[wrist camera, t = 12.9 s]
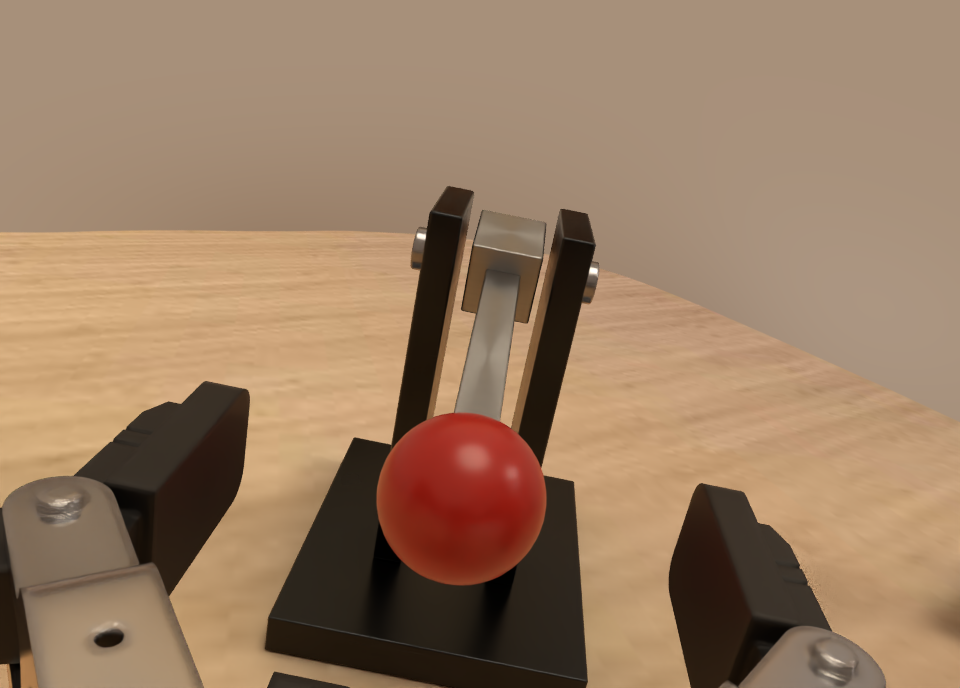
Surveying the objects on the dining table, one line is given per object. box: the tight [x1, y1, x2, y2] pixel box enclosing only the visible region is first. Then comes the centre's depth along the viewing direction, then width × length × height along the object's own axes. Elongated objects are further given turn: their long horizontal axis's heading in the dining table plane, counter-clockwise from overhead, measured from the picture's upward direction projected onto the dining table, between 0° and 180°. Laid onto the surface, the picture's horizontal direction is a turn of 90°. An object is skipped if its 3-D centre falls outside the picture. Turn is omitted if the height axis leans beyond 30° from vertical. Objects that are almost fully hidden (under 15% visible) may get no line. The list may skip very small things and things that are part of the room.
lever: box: [377, 210, 546, 586], centre depth 22 cm, size 14×4×4 cm, turn 176°
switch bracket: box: [265, 186, 599, 688], centre depth 28 cm, size 12×10×14 cm
